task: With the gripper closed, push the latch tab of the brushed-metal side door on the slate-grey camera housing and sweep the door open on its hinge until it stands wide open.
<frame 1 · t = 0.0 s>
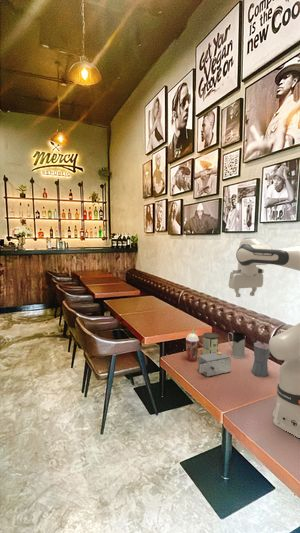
hand: (245, 296, 142), 48 cm above the table, fingers open, 8 cm apart
side door: (215, 368, 155), point 4 cm above the table, hinge at 0.0°
smoothie: (191, 359, 176), on the table
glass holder: (234, 354, 186), on the table
coffee can: (209, 355, 184), on the table
camera housing: (213, 370, 162), on the table
moka pot: (259, 373, 160), on the table
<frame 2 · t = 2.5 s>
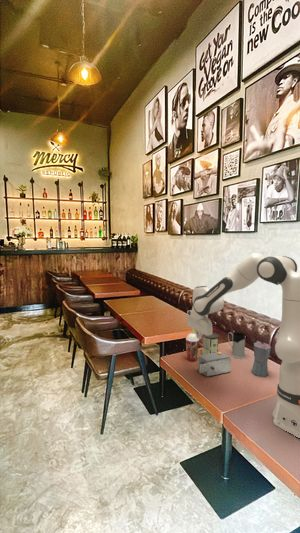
hand: (198, 338, 155), 21 cm above the table, fingers closed
nothing on the table moved.
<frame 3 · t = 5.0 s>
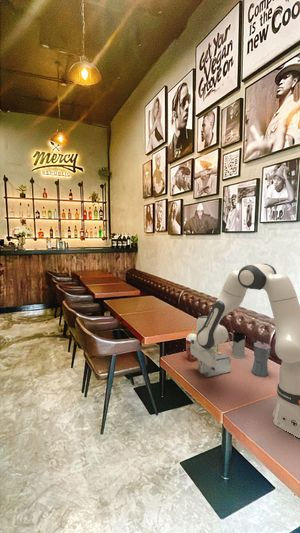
hand: (202, 368, 154), 5 cm above the table, fingers closed
side door: (216, 368, 155), point 4 cm above the table, hinge at 2.7°, touching gripper
everything else where it was.
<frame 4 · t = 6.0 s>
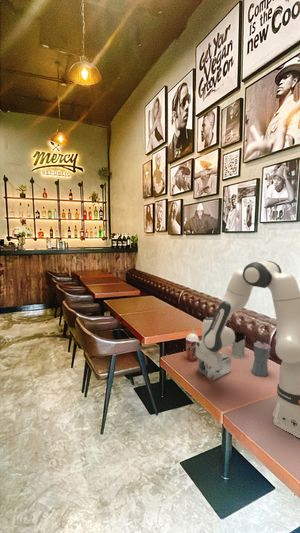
hand: (208, 371, 150), 5 cm above the table, fingers closed
side door: (220, 370, 153), point 5 cm above the table, hinge at 17.0°, touching gripper
everything else where it was.
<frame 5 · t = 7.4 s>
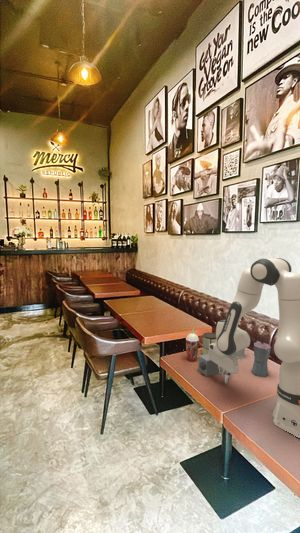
hand: (222, 374, 147), 5 cm above the table, fingers closed
side door: (228, 372, 150), point 4 cm above the table, hinge at 43.2°, touching gripper
everything else where it was.
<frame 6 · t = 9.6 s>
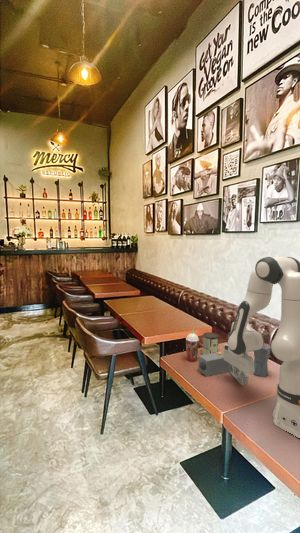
hand: (237, 375, 147), 5 cm above the table, fingers closed
side door: (239, 373, 150), point 5 cm above the table, hinge at 73.9°, touching gripper
everything else where it was.
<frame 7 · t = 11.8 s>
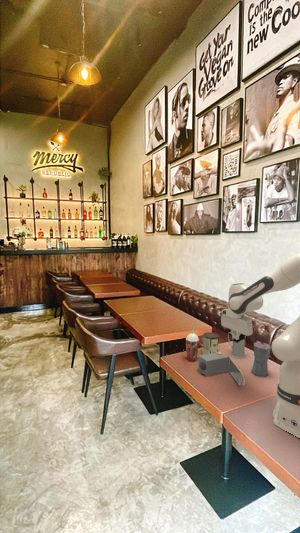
hand: (235, 338, 147), 24 cm above the table, fingers closed
side door: (237, 373, 150), point 5 cm above the table, hinge at 68.1°
everything else where it was.
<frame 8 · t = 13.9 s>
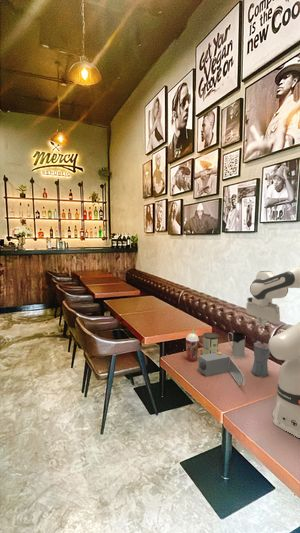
hand: (261, 326, 148), 31 cm above the table, fingers closed
nothing on the table moved.
at the end: side door at +68° (first picture: +0°); side door touching nothing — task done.
